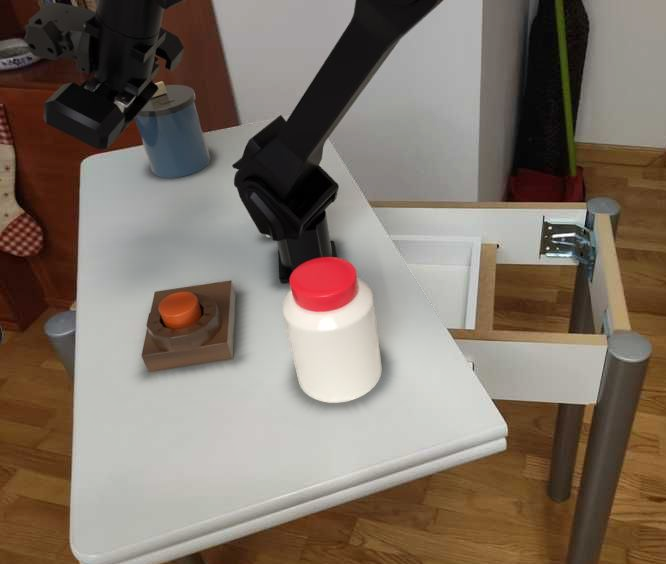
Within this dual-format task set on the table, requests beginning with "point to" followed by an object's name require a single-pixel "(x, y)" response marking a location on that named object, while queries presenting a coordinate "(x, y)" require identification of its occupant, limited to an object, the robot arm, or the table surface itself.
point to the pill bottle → (332, 330)
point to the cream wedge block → (160, 89)
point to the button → (180, 310)
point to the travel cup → (173, 133)
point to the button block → (192, 330)
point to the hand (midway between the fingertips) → (110, 138)
